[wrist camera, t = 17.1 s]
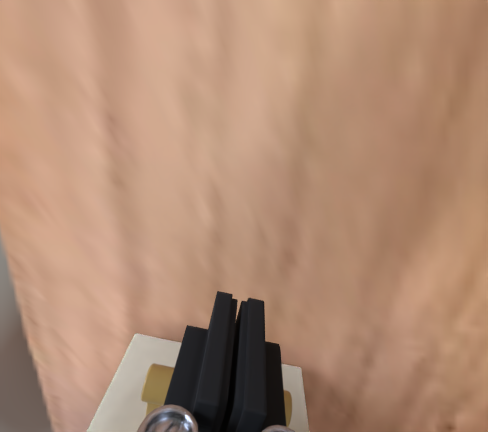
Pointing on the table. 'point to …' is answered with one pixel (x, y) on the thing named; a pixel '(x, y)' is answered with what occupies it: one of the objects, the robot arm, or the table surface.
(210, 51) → the table surface
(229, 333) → the robot arm
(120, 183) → the table surface
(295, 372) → the drawer
